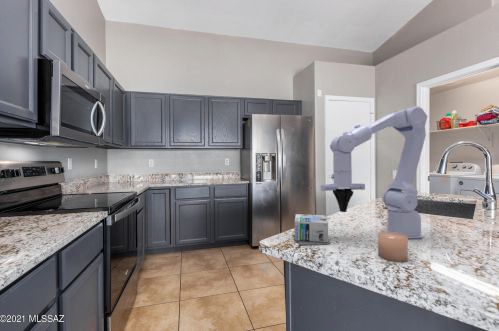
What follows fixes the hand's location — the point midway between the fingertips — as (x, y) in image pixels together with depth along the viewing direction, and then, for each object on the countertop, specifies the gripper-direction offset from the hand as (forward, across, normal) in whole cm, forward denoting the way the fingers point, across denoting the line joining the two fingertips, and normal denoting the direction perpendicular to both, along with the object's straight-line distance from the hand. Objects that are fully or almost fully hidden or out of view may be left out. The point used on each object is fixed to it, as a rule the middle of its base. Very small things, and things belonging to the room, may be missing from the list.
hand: (343, 211), depth 82 cm
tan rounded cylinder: (+9, -7, +16) cm, 20 cm away
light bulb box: (+6, +5, -1) cm, 8 cm away
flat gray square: (+9, +11, 0) cm, 15 cm away
